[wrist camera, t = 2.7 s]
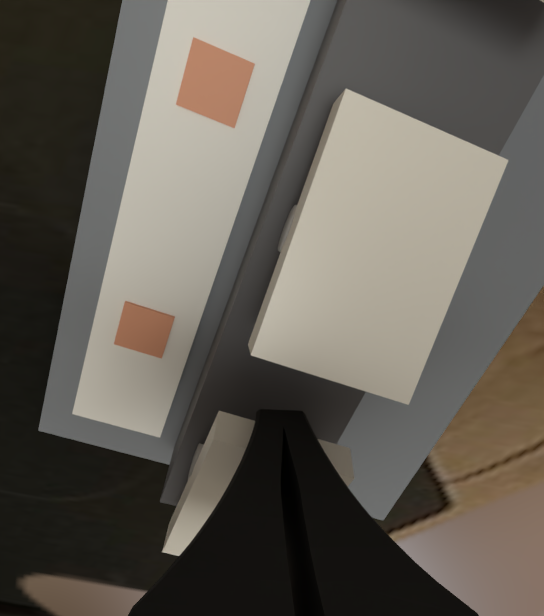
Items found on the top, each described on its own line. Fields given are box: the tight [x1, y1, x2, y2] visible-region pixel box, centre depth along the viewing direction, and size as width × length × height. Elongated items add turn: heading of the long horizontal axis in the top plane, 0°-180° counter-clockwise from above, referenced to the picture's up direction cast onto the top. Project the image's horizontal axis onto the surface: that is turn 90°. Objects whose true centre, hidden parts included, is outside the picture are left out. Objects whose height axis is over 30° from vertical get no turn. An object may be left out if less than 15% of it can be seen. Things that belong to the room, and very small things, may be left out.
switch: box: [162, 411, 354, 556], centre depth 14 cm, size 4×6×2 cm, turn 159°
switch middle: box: [248, 89, 508, 405], centre depth 10 cm, size 4×6×2 cm, turn 159°
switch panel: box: [38, 0, 544, 520], centre depth 13 cm, size 16×25×4 cm, turn 159°
